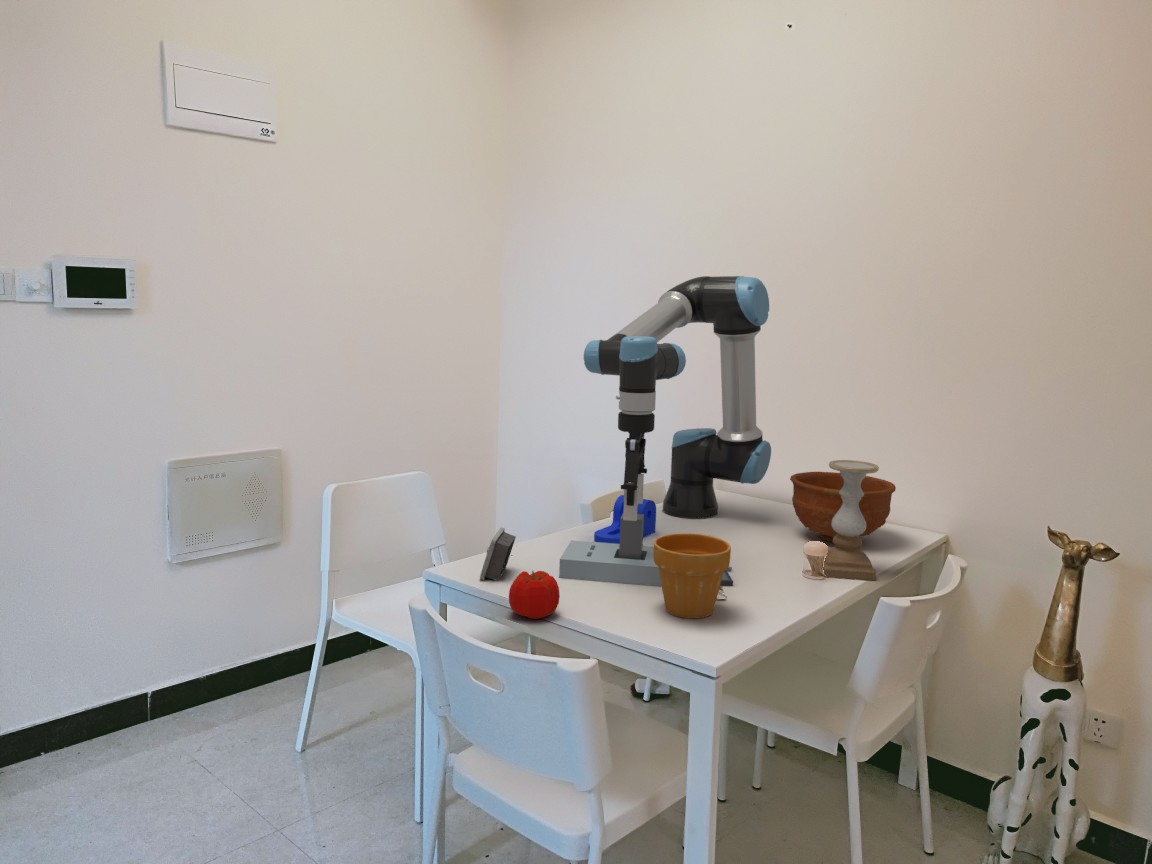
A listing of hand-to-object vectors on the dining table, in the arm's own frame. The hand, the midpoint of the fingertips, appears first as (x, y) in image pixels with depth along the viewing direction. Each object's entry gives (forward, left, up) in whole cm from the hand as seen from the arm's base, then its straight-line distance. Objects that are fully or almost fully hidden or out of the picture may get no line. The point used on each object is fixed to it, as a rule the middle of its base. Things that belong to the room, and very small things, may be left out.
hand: (633, 511), depth 175 cm
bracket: (-26, -5, -14) cm, 30 cm away
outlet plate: (0, -3, -13) cm, 14 cm away
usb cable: (-8, +14, -13) cm, 21 cm away
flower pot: (+19, +13, -14) cm, 27 cm away
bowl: (-39, +48, -14) cm, 63 cm away
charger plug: (0, 0, -13) cm, 13 cm away
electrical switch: (+8, -27, -14) cm, 31 cm away
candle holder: (-13, +46, -14) cm, 49 cm away
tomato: (+28, -15, -14) cm, 35 cm away
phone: (+1, +14, -13) cm, 19 cm away
